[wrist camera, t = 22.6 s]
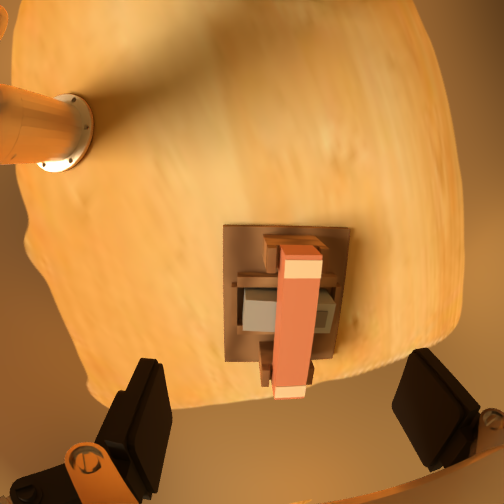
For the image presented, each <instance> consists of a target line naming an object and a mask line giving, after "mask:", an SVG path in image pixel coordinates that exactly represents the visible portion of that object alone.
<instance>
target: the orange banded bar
mask: <svg viewBox="0 0 504 504" xmlns="http://www.w3.org/2000/svg"><path fill="white" fill-rule="evenodd" d="M322 261H323V260H322V254H321V253H320V252H319V251H318V250H317V249H316V248H315V247H314V246H313V245H280V250H279V270H278V287H277V304H276V320H275V335H274V349H273V362H272V375H271V382H272V388H273V395H274V400H279V399H280V400H281V399H298V398H304V396H305V390H306V382H307V376H308V370H309V363H310V357H311V350H312V343H313V336H314V328H315V320H316V312H317V304H318V295H319V286H320V278H321V272H322Z"/></svg>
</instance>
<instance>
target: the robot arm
mask: <svg viewBox="0 0 504 504" xmlns="http://www.w3.org/2000/svg"><path fill="white" fill-rule="evenodd" d="M7 23H8V14H7V12H6V10H5V9H4V7H2V6H1V5H0V41H1V39H2V37H3V35H4V33H5V30H6V27H7ZM88 127H89V129H88ZM93 128H94V122H93V115H92V111H91V109H90V107H89V105H88V104H87V103H86V101H85V100H83V99H82V98H81V97H79V96H76V95H73V94H62V95H58V96H56V97H54V98H50V97H47V96H44V95H41V94H37V93H34V92H31V91H27V90H24V89H20V88H17V87H13V86H9V85H5V84H0V165H4V164H23V163H37V165H39V166H40V167H41V168H42V169H44V170H45V171H48V172H63V171H66V170H69V169H70V168H72V167H73V166H75V165H76V164H77V163H78V162H79V161H80V160H81V159H82V157H83V156H84V155H85V153H86V151H87V150H88V148H89V145H90V143H91V139H92V135H93ZM392 409H393V412H394V414H395V415H396V417H397V419H398V420H399V422H400V424H401V426H402V427H403V429H404V431H405V433H406V434H407V436H408V438H409V440H410V442H411V443H412V445H413V447H414V449H415V451H416V452H417V454H418V456H419V458H420V460H421V462H422V463H423V465H424V466H426V467H428V469H429V471H430V472H432V471H435V470H437V469H440V468H441V467H442V466H444V468H445V469H443V470H440V471H438V472H435V473H432V474H430V475H427V476H425V477H422V478H419V479H416V480H413V481H410V482H407V483H404V484H401V485H398V486H395V487H391V488H388V489H384V490H381V491H378V492H373V493H370V494H366V495H362V496H357V497H353V498H348V499H343V500H338V501H332V502H327V503H320V504H504V413H503V412H502V411H500V410H498V409H495V408H488V409H485V410H483V411H482V413H481V414H480V413H479V412H478V411H479V409H480V405H479V404H478V403H477V402H476V401H475V399H474V398H473V397H472V396H471V395H470V394H469V393H468V391H467V390H466V389H465V388H464V387H463V386H462V385H461V384H460V382H459V381H458V380H457V379H456V378H455V377H454V376H453V375H452V374H451V372H449V370H448V369H447V368H446V367H445V366H444V365H443V364H442V363H441V362H440V360H439V359H438V358H437V357H436V356H435V355H434V354H433V353H432V352H431V351H430V350H429V349H428V348H420V349H415V350H413V351H412V353H411V354H410V355H409V357H408V360H407V363H406V366H405V369H404V372H403V375H402V378H401V380H400V383H399V386H398V389H397V391H396V394H395V397H394V399H393V402H392ZM171 425H172V412H171V407H170V402H169V397H168V391H167V386H166V381H165V375H164V369H163V365H162V364H160V363H158V361H157V360H156V359H148V358H141V359H140V360H139V363H138V365H137V367H136V369H135V371H134V373H133V376H132V378H131V380H130V382H129V384H128V386H127V389H126V391H122V390H120V391H118V393H117V394H116V396H115V398H114V400H113V403H112V405H111V407H110V409H109V411H108V413H107V415H106V418H105V420H104V422H103V425H102V426H101V429H100V431H99V433H98V435H97V438H96V440H95V442H94V443H92V442H83V443H78V444H76V445H73V446H72V447H71V448H70V449H68V451H67V453H66V455H65V459H64V461H65V463H64V464H61V465H59V466H56V467H53V468H50V469H47V470H44V471H41V472H38V473H35V474H31V475H28V476H25V477H22V478H20V479H17V480H16V481H15V482H14V483H13V484H12V486H11V488H10V496H8V497H7V498H6V497H5V496H2V497H0V504H141V503H142V500H143V499H147V500H151V497H152V493H157V492H158V487H159V482H160V477H161V472H162V468H163V463H164V458H165V453H166V448H167V444H168V439H169V435H170V430H171Z"/></svg>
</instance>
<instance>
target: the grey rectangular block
mask: <svg viewBox="0 0 504 504" xmlns="http://www.w3.org/2000/svg"><path fill="white" fill-rule="evenodd" d="M276 304H277V287H244V298H243V310H242V318H243V331H261V332H275V320H276ZM335 307H336V303H335V302H334V300H333V299H332V298H331V296H330V295H329V293H328V292H327V290H326V289H321V288H319V295H318V304H317V312H316V320H315V328H314V333H330V330H331V325H332V321H333V316H334V312H335Z"/></svg>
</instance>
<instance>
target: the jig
mask: <svg viewBox="0 0 504 504" xmlns="http://www.w3.org/2000/svg"><path fill="white" fill-rule="evenodd" d="M349 237H350V229H349V228H344V227H312V226H268V225H223V297H224V347H225V362H259V368H260V377H261V386H262V387H269V380H271V375H272V362H273V349H274V335H275V332H261V331H243V318H242V310H243V298H244V287H278V270H279V250H280V245H313V246H314V247H315V248H316V249H317V250H318V251H319V252H320V253H321V254H322V260H323V261H322V272H321V278H320V286H319V288H321V289H326V290H327V292H328V293H329V295H330V296H331V298H332V299H333V300H334V302H335V303H336V307H335V312H334V316H333V321H332V325H331V330H330V333H314V336H313V343H312V350H311V357H310V363H309V370H308V376H307V382H306V385H310V384H312V379H313V374H314V366H313V363H312V361H311V360H316V359H330V358H333V353H334V347H335V342H336V336H337V330H338V324H339V318H340V311H341V304H342V297H343V290H344V282H345V274H346V266H347V257H348V248H349Z"/></svg>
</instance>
